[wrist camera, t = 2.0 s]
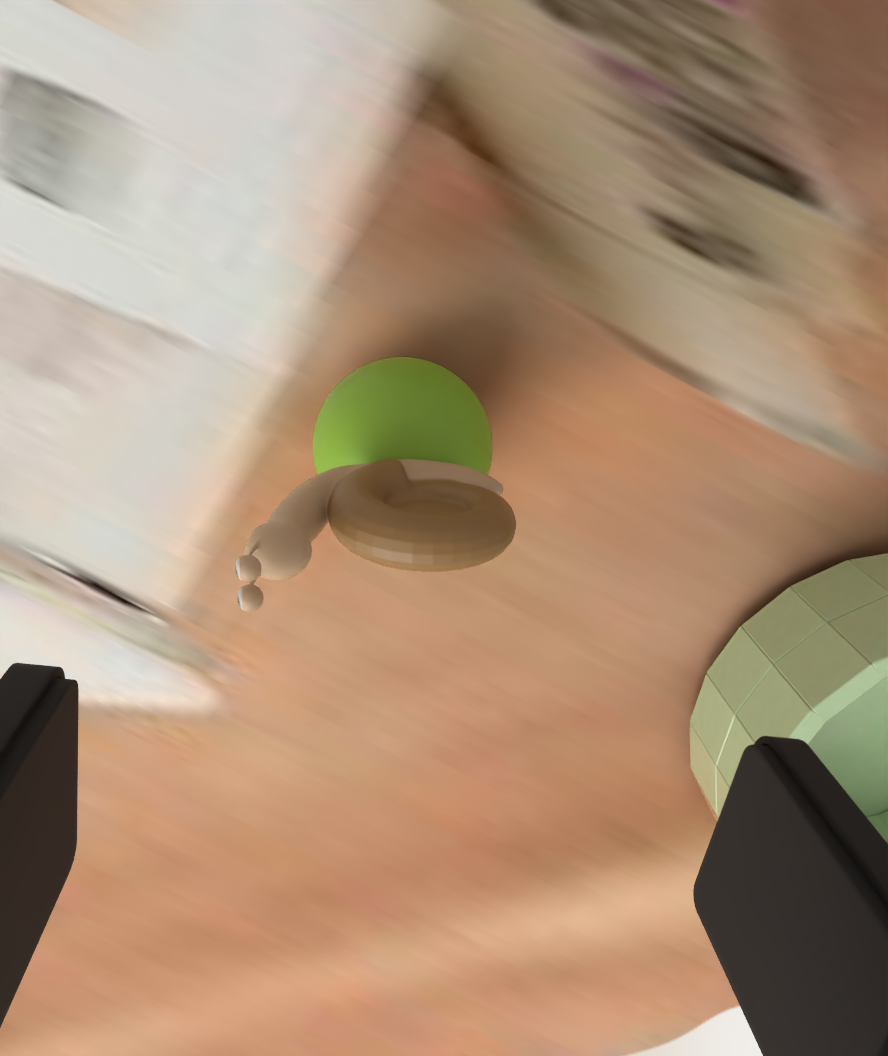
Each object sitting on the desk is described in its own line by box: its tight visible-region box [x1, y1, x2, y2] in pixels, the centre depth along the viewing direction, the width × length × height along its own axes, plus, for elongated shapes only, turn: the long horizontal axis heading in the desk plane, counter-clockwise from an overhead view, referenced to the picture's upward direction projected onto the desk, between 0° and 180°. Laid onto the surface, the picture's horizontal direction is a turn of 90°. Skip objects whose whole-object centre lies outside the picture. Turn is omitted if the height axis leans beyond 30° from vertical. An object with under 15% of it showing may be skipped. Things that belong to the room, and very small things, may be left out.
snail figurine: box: [236, 357, 516, 612], centre depth 22 cm, size 5×6×12 cm
